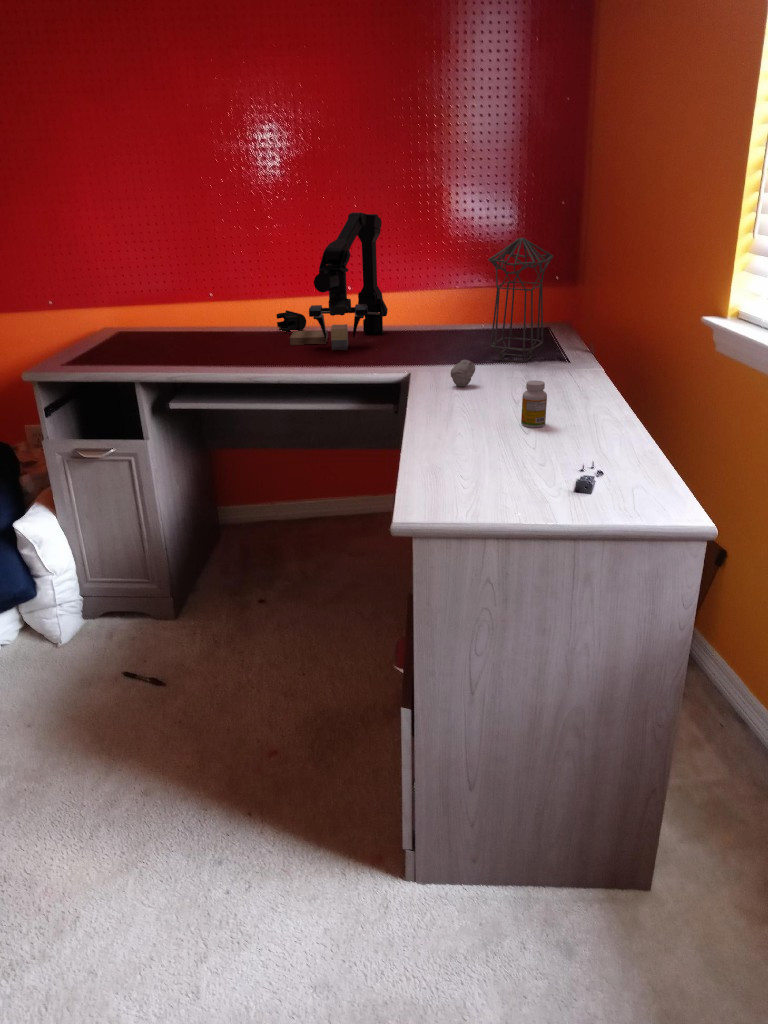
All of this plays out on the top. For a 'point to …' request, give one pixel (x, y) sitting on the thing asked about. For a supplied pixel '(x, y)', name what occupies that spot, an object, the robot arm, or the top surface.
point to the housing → (339, 337)
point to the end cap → (291, 321)
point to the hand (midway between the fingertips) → (339, 337)
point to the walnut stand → (308, 337)
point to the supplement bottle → (534, 405)
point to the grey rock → (462, 373)
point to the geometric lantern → (510, 249)
